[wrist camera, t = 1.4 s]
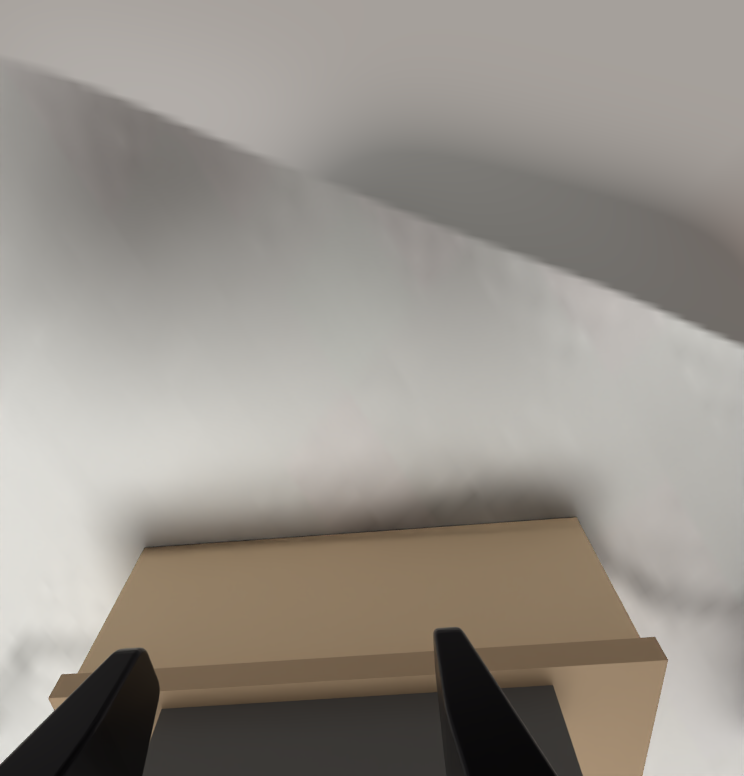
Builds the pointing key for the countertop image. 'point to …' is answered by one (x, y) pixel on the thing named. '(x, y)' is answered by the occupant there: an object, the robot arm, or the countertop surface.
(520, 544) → the carton
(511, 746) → the robot arm
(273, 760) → the carton lid
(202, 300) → the countertop surface
